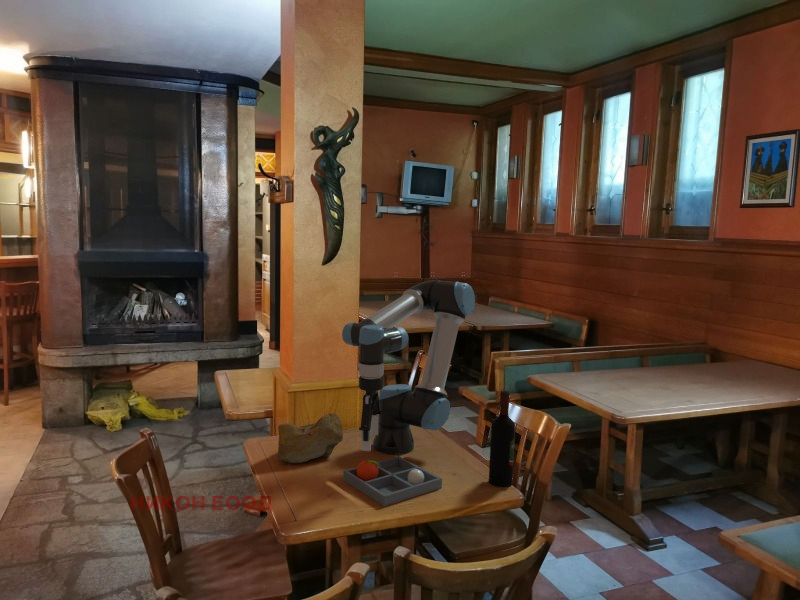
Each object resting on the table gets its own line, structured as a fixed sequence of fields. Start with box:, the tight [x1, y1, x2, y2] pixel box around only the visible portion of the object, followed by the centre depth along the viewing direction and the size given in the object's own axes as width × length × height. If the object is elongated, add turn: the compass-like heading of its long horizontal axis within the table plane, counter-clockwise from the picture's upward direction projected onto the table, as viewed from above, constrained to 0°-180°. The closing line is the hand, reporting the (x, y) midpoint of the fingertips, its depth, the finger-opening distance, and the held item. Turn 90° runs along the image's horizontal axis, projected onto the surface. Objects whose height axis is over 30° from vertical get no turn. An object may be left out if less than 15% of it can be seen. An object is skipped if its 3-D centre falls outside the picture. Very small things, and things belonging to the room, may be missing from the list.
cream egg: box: [408, 469, 424, 485], centre depth 186 cm, size 5×5×5 cm
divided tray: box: [342, 455, 443, 507], centre depth 187 cm, size 22×22×4 cm
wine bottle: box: [488, 390, 516, 488], centre depth 191 cm, size 8×8×30 cm
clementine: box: [356, 459, 382, 481], centre depth 187 cm, size 8×7×7 cm
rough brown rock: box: [277, 412, 344, 464], centre depth 211 cm, size 23×17×15 cm
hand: (370, 442), depth 186 cm, fingers open, 13 cm apart
